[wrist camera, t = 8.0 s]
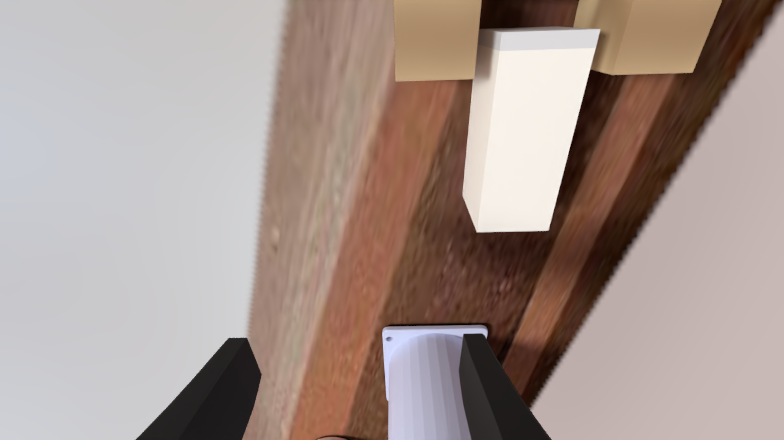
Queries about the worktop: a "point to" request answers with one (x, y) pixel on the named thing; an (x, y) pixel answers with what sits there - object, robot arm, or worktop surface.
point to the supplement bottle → (332, 438)
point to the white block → (523, 122)
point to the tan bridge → (595, 10)
